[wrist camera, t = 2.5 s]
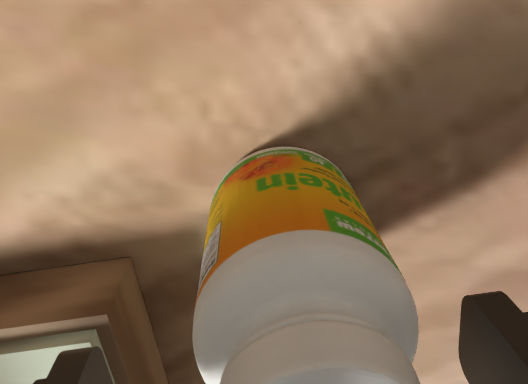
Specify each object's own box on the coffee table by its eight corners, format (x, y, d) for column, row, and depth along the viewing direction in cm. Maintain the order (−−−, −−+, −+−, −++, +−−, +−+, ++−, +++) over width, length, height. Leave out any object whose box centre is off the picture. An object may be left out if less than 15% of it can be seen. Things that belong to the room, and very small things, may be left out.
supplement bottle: (373, 160, 16) (533, 360, 7) (329, 282, 18) (414, 555, 9) (225, 128, 15) (206, 306, 7) (198, 259, 18) (153, 531, 9)
